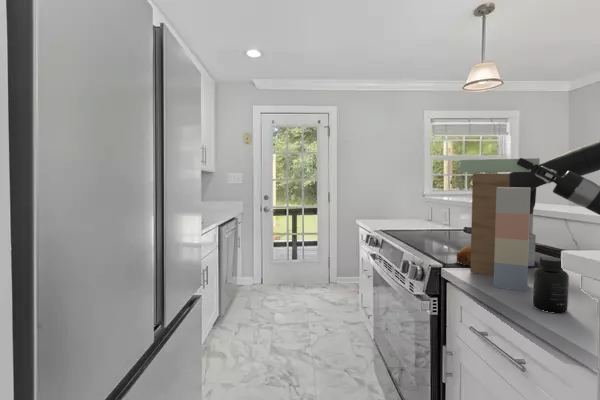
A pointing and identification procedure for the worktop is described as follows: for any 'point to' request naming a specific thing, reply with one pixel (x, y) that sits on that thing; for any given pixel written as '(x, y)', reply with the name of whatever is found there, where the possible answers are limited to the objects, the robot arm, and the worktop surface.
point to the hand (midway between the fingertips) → (519, 161)
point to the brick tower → (512, 237)
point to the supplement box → (531, 250)
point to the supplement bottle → (551, 286)
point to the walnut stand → (484, 220)
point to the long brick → (495, 165)
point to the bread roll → (464, 256)
